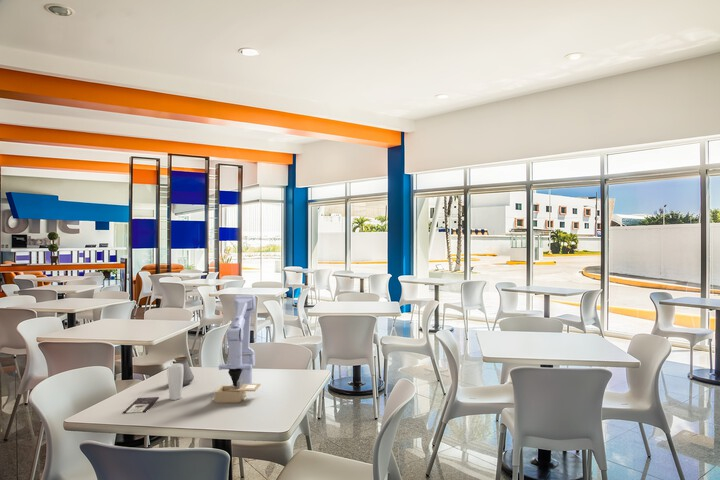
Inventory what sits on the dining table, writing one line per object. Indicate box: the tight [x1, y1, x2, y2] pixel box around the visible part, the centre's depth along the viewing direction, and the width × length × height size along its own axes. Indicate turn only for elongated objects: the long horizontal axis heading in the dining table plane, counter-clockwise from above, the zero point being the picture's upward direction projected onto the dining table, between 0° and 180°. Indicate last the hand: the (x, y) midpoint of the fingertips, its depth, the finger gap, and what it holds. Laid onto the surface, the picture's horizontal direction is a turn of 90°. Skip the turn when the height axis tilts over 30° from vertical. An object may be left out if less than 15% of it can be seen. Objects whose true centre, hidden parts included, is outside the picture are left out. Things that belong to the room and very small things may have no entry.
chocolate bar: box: [122, 396, 160, 414], centre depth 203 cm, size 9×1×18 cm
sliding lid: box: [229, 378, 261, 392], centre depth 209 cm, size 11×9×4 cm
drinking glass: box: [166, 363, 184, 401], centre depth 211 cm, size 7×7×15 cm
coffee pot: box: [169, 356, 195, 387], centre depth 229 cm, size 21×12×15 cm, turn 6°
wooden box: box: [214, 385, 247, 404], centre depth 209 cm, size 11×9×5 cm
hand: (235, 385), depth 209 cm, fingers closed
